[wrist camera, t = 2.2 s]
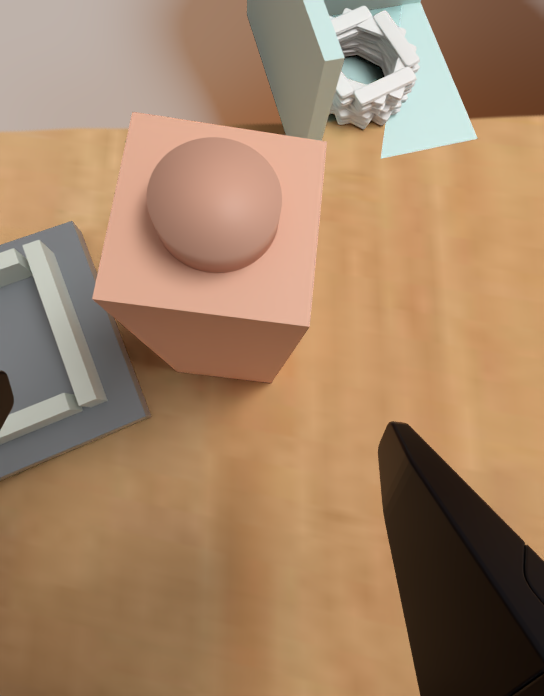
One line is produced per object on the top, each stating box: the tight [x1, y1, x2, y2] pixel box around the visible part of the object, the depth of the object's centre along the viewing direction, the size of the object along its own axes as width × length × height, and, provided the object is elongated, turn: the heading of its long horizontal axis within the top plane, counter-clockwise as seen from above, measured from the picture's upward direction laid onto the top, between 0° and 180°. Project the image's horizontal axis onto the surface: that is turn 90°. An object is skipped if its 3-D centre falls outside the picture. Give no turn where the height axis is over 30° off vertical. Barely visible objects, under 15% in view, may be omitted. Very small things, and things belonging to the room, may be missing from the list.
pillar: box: [92, 112, 327, 383], centre depth 15 cm, size 5×5×13 cm
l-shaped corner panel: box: [247, 0, 478, 158], centre depth 22 cm, size 12×12×8 cm
